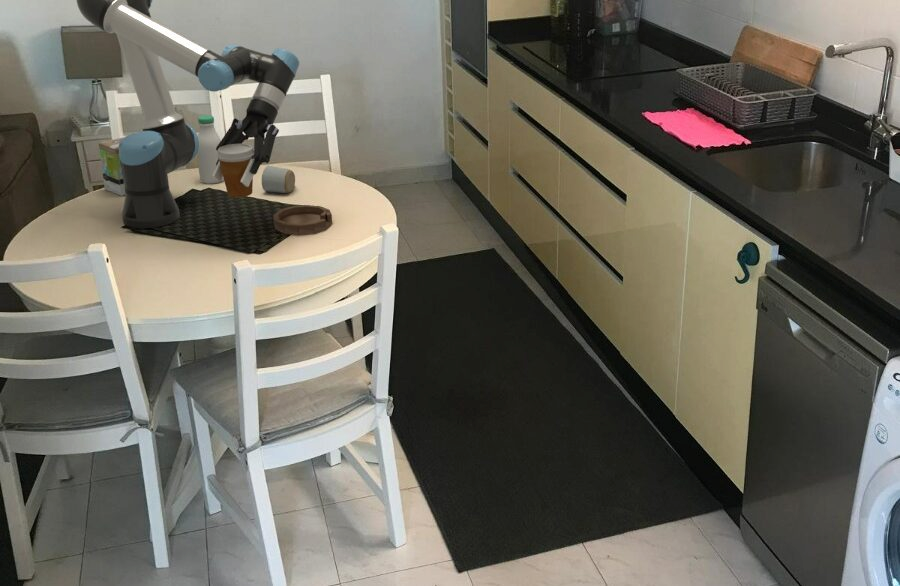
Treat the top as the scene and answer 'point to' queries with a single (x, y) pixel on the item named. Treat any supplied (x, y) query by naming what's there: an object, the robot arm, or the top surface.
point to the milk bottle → (207, 149)
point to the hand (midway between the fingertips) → (230, 181)
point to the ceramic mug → (278, 179)
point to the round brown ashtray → (302, 220)
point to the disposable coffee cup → (235, 168)
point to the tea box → (112, 166)
